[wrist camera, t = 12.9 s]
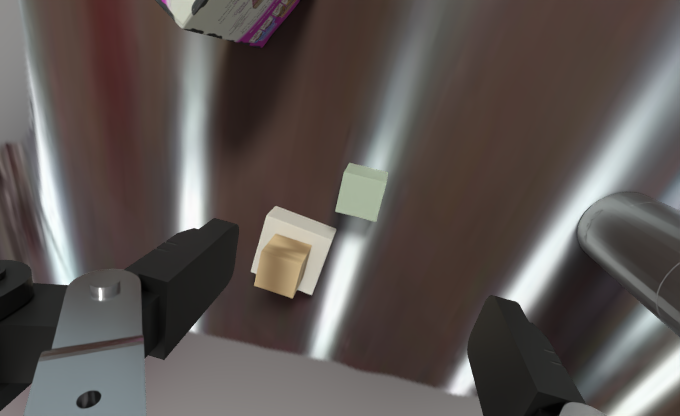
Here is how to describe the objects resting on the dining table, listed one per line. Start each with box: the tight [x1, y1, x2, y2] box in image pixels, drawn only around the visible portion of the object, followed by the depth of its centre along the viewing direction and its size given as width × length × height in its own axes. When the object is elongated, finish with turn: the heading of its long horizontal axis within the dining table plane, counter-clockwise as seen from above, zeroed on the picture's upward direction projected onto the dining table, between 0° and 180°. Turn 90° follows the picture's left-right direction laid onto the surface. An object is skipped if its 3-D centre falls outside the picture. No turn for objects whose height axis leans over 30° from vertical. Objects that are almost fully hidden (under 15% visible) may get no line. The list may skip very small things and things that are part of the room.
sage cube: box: [335, 163, 388, 222], centre depth 43 cm, size 5×5×5 cm
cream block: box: [251, 206, 337, 295], centre depth 48 cm, size 9×9×4 cm
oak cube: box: [254, 234, 312, 298], centre depth 44 cm, size 5×5×5 cm
